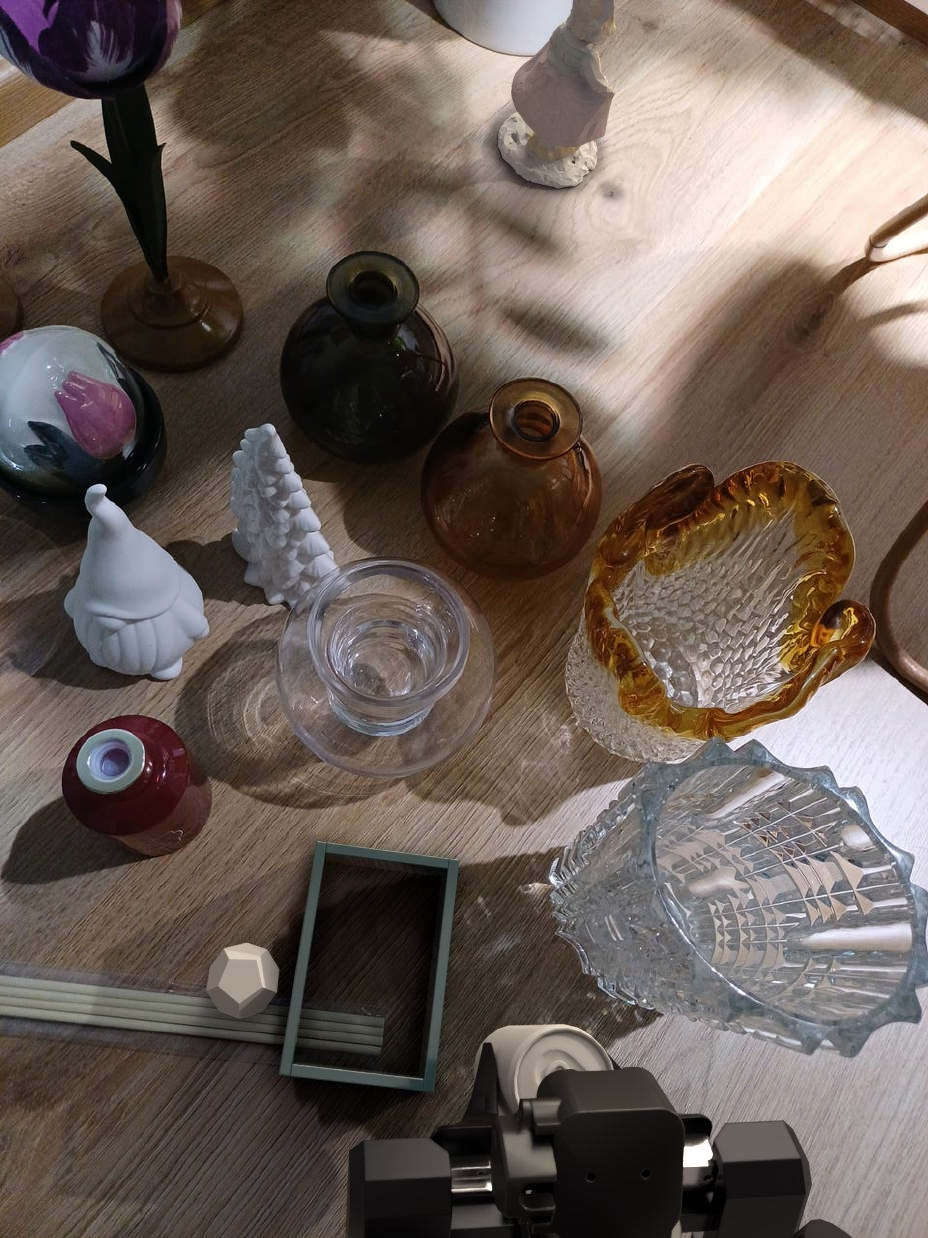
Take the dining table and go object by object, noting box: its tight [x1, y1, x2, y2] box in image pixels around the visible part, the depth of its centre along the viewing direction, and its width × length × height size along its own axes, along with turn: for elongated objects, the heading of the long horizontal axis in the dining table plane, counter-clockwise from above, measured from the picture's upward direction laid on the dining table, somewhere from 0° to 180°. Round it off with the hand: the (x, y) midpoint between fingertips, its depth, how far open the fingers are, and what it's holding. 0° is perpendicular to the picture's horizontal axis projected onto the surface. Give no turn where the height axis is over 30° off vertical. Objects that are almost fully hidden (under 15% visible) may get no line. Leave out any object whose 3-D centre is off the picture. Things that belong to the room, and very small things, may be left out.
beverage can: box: [473, 1023, 614, 1116], centre depth 50 cm, size 5×5×12 cm
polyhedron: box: [205, 942, 280, 1019], centre depth 57 cm, size 4×4×3 cm
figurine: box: [497, 0, 617, 196], centre depth 78 cm, size 11×10×15 cm
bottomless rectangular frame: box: [278, 840, 460, 1093], centre depth 58 cm, size 12×8×4 cm
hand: (538, 1047), depth 50 cm, fingers closed on beverage can, 5 cm apart
